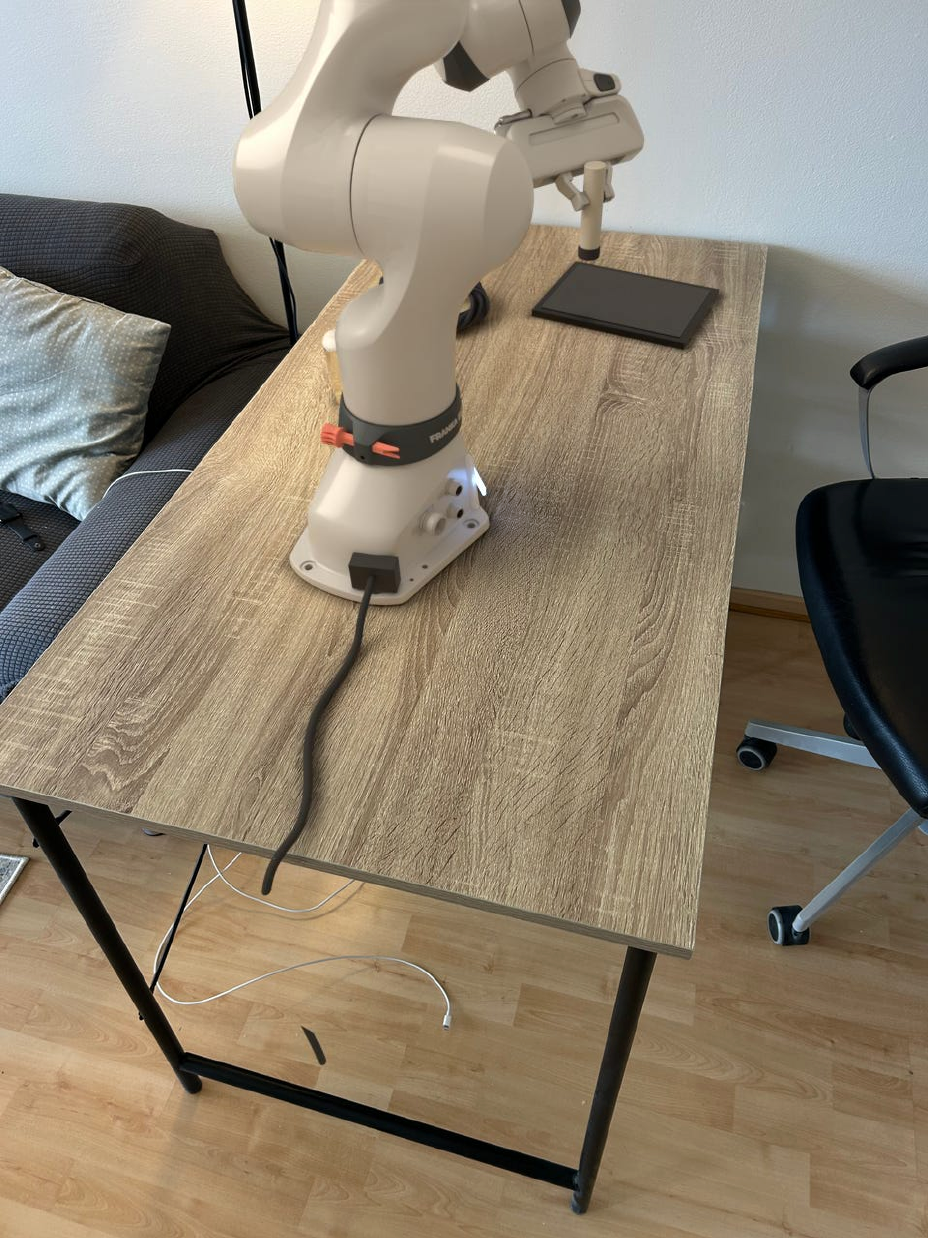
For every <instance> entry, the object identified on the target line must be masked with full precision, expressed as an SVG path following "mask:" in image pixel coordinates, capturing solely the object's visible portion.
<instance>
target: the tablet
mask: <svg viewBox="0 0 928 1238" xmlns="http://www.w3.org/2000/svg"><path fill="white" fill-rule="evenodd" d="M719 295H720V288H714V287H709V286H704V285H701V284H694V283H689V282H683V281H680V280H679V281H678V280H674V279H669V278H664V277H658V276H654V275H650V274H649V275H648V274H644V273H637V272H634V271H628V270H623V269H618V268H613V267H608V266H603V265H598V264H592V263H587V262H582V261H577V260H576V261H574V262H573V263H572V264H571V266H569V267H568V268H567V270H566V271H565V272H564V273H563V274H562V275H561V276H560V277H559V279H557V280H556V282H555V283H554V284H553V285H552V286H551V287H550V288H549V290H547V292H546V293H545V294H544V295H543V296H542V298H540V299H539V300H538V302H537V303H536V304H535V305H534V306H533V307H532V308H531V316H532V317H535V318H539V319H544V320H549V321H553V322H558V323H562V324H566V325H571V326H575V327H580V328H584V329H588V330H594V331H599V332H603V333H607V334H611V335H615V336H621V337H624V338H628V339H629V338H630V339H634V340H638V341H642V342H646V343H652V344H656V345H660V346H665V347H669V348H673V349H678V350H685V348H686V347H687V345H688V344H689V342H690V340H691V339H692V337H693V336H694V335H695V333H696V331H697V330H698V328H699V327H700V325H701V323H702V322H703V321H704V319H705V318H706V316H707V314H708V313H709V311H710V309H711V308H712V306H713V305H714V304H715V301H716V300H717V299H718V297H719Z"/></svg>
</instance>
